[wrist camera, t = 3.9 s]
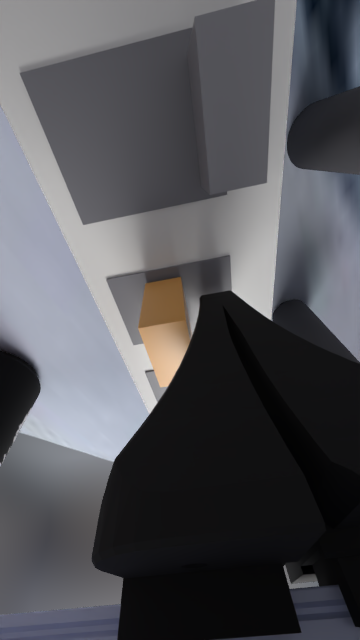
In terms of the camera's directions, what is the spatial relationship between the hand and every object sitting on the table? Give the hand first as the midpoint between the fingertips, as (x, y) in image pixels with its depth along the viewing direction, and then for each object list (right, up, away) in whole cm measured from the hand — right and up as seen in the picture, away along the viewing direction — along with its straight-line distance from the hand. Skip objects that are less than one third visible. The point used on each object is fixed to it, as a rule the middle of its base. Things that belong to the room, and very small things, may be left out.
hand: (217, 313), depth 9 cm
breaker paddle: (-2, 0, +1) cm, 2 cm away
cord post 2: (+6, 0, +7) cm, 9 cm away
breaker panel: (-1, +3, +4) cm, 5 cm away
